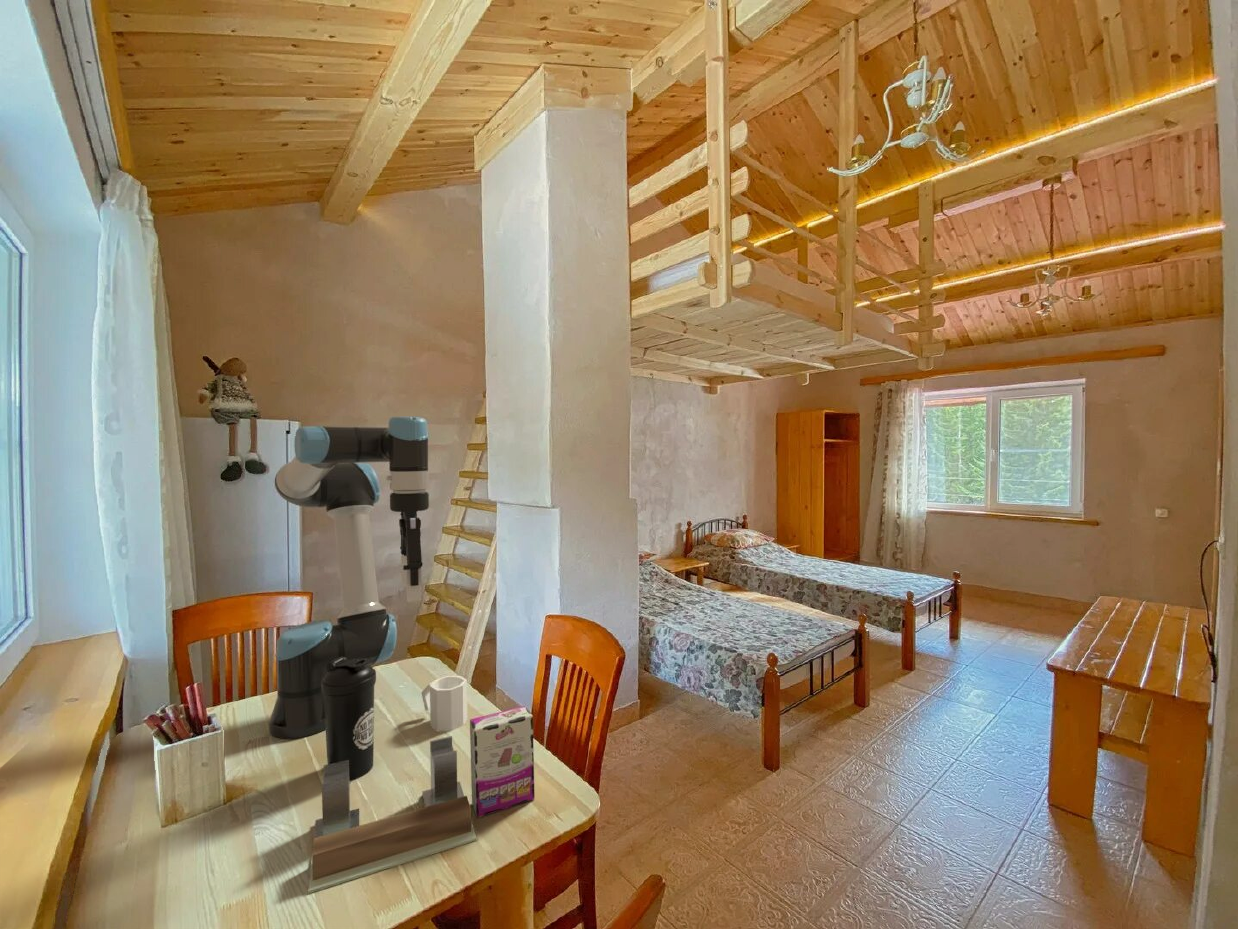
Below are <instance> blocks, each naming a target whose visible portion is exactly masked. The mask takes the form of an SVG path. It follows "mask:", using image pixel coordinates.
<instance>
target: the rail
mask: <svg viewBox="0 0 1238 929" xmlns="http://www.w3.org/2000/svg"><path fill="white" fill-rule="evenodd" d="M468 799H469V798H468V796H467V795H464V797H460V798H457V799H453V800H449V801H446V802H442V803H439V804H435V805H432V806H428V807H425V806H424V807H421V808H418V809H415V810H410V811H407V812H403V813H400V814H397V815H393V816H389V817H386V818H382V819H378V820H375V821H370V822H368V823H364V824H359V826H357V827H353V828H349V829H346V830H342V831H339V832H335V833H332V834H328V835H324V836H321V837H317V838H314V837H313V839H314V843H313V842H312V852H311V853H312V855H311V860H312V869H313V880H316V879H320V878H323V877H326V876H329V875H333V874H336V873H339V872H342V871H345V870H349V869H352V868H355V867H358V866H362V865H365V864H368V863H371V862H375V861H378V860H381V859H384V858H387V857H391V856H394V855H397V854H400V853H404V852H407V851H410V850H413V849H417V848H420V847H423V846H426V845H429V844H433V843H436V842H439V841H442V840H446V839H449V838H452V837H455V836H459V835H462V834H465V833H468V832H471V822H472V810H471V805H470V802H469V800H468Z"/></svg>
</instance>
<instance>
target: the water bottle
mask: <svg viewBox="0 0 1238 929" xmlns="http://www.w3.org/2000/svg"><path fill="white" fill-rule="evenodd" d="M369 662H370V659H369V658H361V659H353V660H347V659H346V658H345V657H344V656H342V657H339V658H337V659H335V660H334V661H332V662H330V663H329V664H327V667H326V668H327V671H328V672H327V673H326V674H325V676H324V677H323V678H322V680H321V690H322V693H323V695H324V712H325V730H324V731H325V742H326V762H327V764H326V765H328V764H333V763H337V762H341V761H346V760H349V782H350V781H353V780H357V779H361V777H363V776H366V774H368V773H370V771H371V770H372V769H373V767H374V747H375V746H374V743H375V742H374V740H375V739H374V738H375V684H376V681H377V671H376V669H374V668H373V665H370V664H368V663H369Z"/></svg>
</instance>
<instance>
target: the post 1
mask: <svg viewBox="0 0 1238 929" xmlns="http://www.w3.org/2000/svg"><path fill="white" fill-rule="evenodd" d="M350 789H351V788H350V781H349V760H346V761H341V762H337V763H333V764H324V765H323V780H322V783H321V808H322V809H321V811H322V812H321V813H322V818H318V819H315V822H314V823H315V824H314V832H313V840H312V841H313V842H312V844H313V843H314V838H317V837H321V836H324V835H328V834H332V833H335V832H339V831H342V830H346V829H349V828H353V827H357V826H360V808H356V809H352V810H351V800H350V799H351V798H350V797H351V796H350Z"/></svg>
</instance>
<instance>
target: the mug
mask: <svg viewBox="0 0 1238 929" xmlns="http://www.w3.org/2000/svg"><path fill="white" fill-rule="evenodd" d="M421 697H422V702H423V706H424V711H426V712H427V711H430V714H429V715H430V717H429V718H430V719H429V720H430V724H429V726H430V727H431V728H432V729H434V730H435V731H436V732H450V731H451V732H452V731H454V730H456V729H458V728H461V727H463V726H465V723H466V722H467V721H468V680H467V678H465V677H463V676H462V675H445V676H442V677H440V678H437V679H434V681H432V682H430V683H429V684H428V685H427V686H426V687H424V689H423V690H422V691H421ZM462 725H463V726H462ZM460 726H461V727H460Z"/></svg>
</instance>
